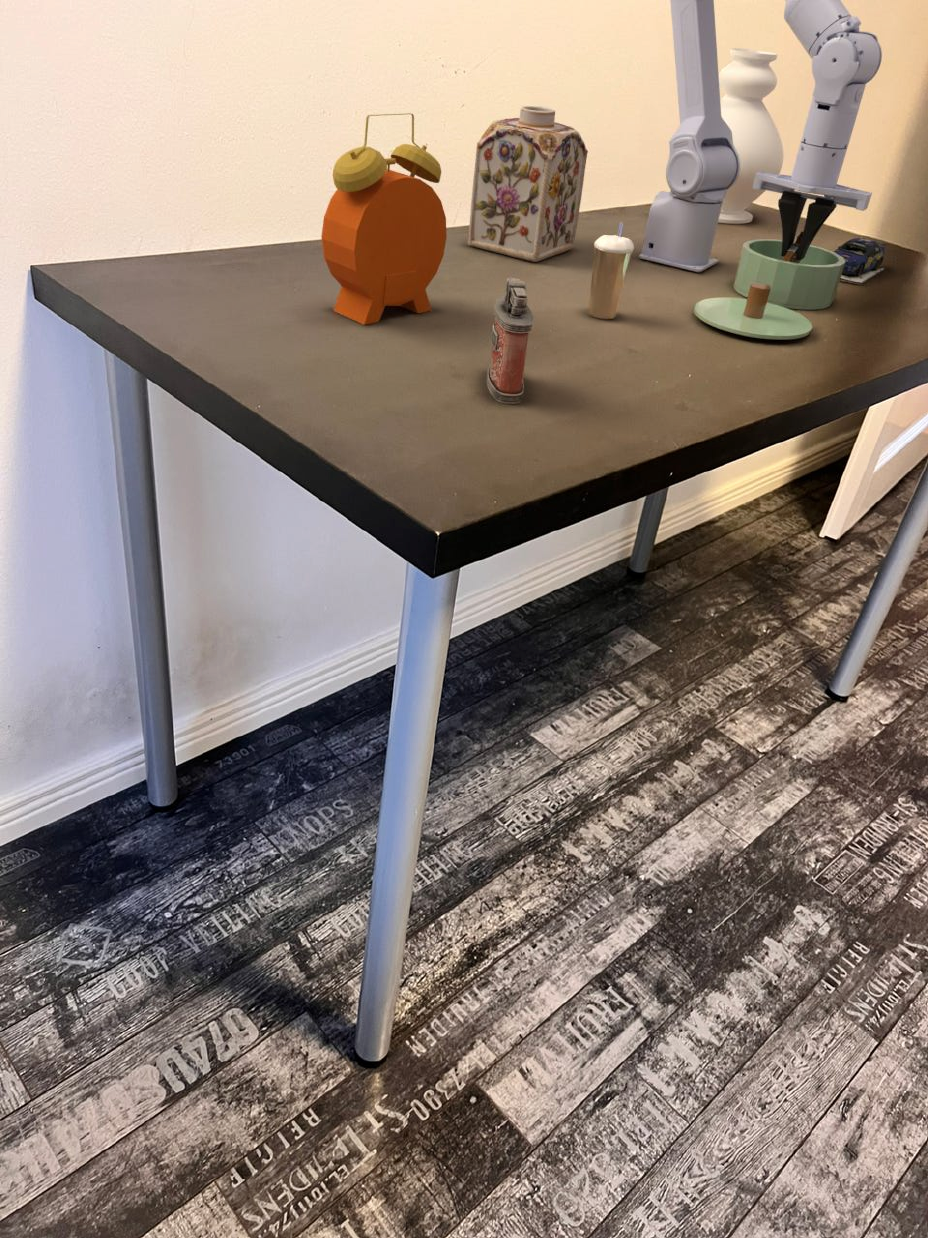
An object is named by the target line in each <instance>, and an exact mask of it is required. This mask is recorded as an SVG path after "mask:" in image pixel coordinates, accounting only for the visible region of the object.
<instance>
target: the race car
mask: <svg viewBox="0 0 928 1238" xmlns="http://www.w3.org/2000/svg"><path fill="white" fill-rule="evenodd" d="M879 244H880V245H879ZM881 245H882V246H881ZM886 245H887V243H885V242H881V241H877V240H873V239H869V238H865V237H862V238H860V237H855V238H854V237H853V238H851V239H849V240H847V241H844V243H843V244H841V245H839V246H838V247H837V248H836V249H834V251H833V252H835V253H836V254H838V255H840V256H841V257H843V258H844V260H845V265H844V268H843V272H842V275H841V278H840V281H839V282H843V283H848V284H849V283H850V284H854V285H859V286H860V285H862V284H864V283H866V282H867V281H869V280H870V279H872V278H873V277H875V276H876V275H877V274H879V273H880V272H882V271H884V270H885V268H880V266H881V264H882V263H883V261H884V259H885V254H886V253H885V251H886V250H885V249H886Z"/></svg>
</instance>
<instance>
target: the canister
mask: <svg viewBox="0 0 928 1238" xmlns="http://www.w3.org/2000/svg"><path fill="white" fill-rule="evenodd" d="M795 242H796V241H794V243H795ZM781 252H782V239H774V238H770V239H769V238H757V239H750V240H749V239H748V240H747V241H745V242H744V243H743V244H742V247H741V251H740V255H739V260H738V264H737V267H736V272H735V276H734V281H733V289H734V291H735V292H737V293H738V294H739V295H741V296H743V297H745V298H747V297H748V293H749V289H750V286H751V284H752V283H762V284H766V285H769V286H770V287H771V290H770V293H769V297H768V301H767V303H770V304H774V305H778V306H781V307H784V308H787V309H790V310H800V311H801V310H804V311H813V310H814V311H815V310H823V309H826V308H829V307H831V306H832V304H833V301H835V297H836V294H837V290H838V288H839V284H840V282H841V281H840V278H841V275H842V272H843V268H844V265H845V260H844V258H843V257H841V256H840V255H838V254H836V253H835V252H834V251H832V250H830V249H826V248H823V247H821V246H816V245H812V244H810V246H809V248H808V250H807V252H806V255H805V257H804V258H803V259H802V260H800V262H799V263H792V262H787V261H782V260H781V259H783V258H784V257H783V256H781ZM778 259H780V260H778Z"/></svg>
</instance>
